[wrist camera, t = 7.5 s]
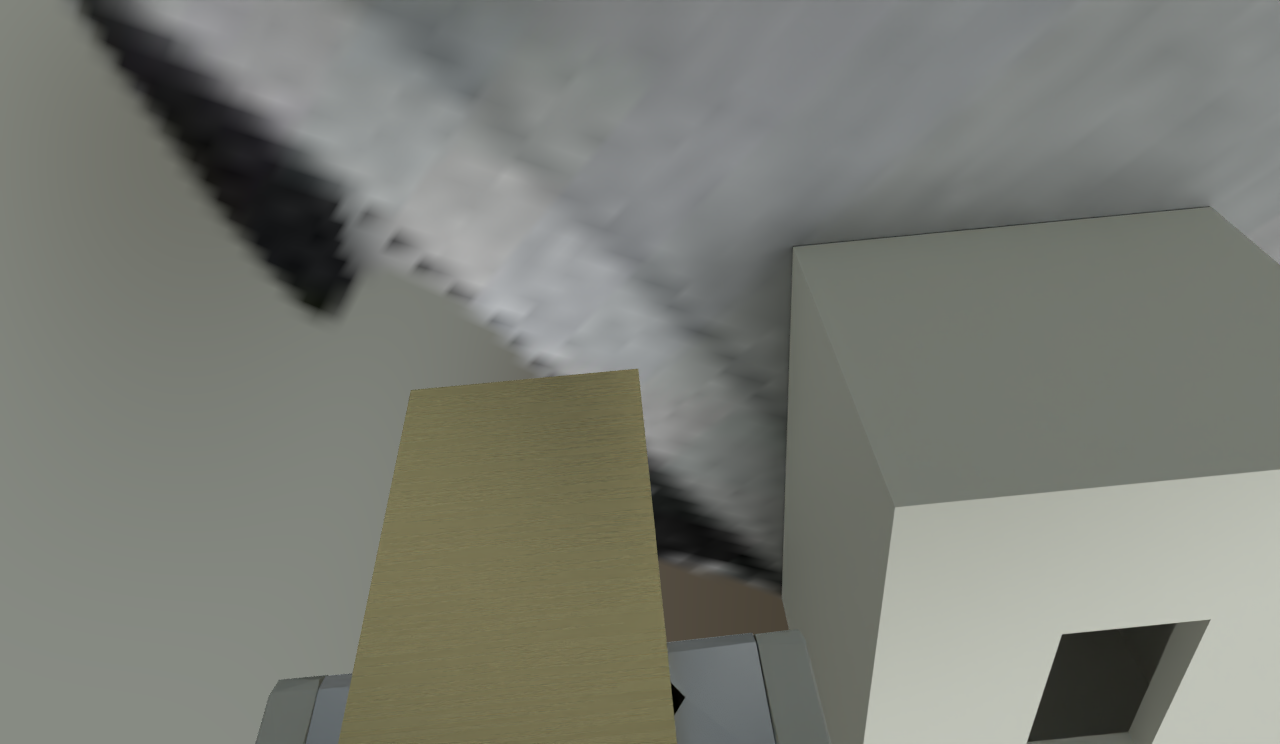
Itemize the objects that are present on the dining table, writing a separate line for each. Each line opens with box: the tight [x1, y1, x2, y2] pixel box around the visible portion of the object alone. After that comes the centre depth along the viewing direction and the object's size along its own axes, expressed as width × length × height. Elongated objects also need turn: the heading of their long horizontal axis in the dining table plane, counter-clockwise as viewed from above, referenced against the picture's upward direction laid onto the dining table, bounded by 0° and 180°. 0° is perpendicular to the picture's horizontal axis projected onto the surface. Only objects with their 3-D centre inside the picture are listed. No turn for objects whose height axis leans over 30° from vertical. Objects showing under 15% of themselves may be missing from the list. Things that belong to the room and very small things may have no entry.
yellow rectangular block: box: [338, 369, 677, 744], centre depth 10 cm, size 5×3×6 cm, turn 4°
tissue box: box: [782, 207, 1280, 744], centre depth 32 cm, size 18×14×12 cm
